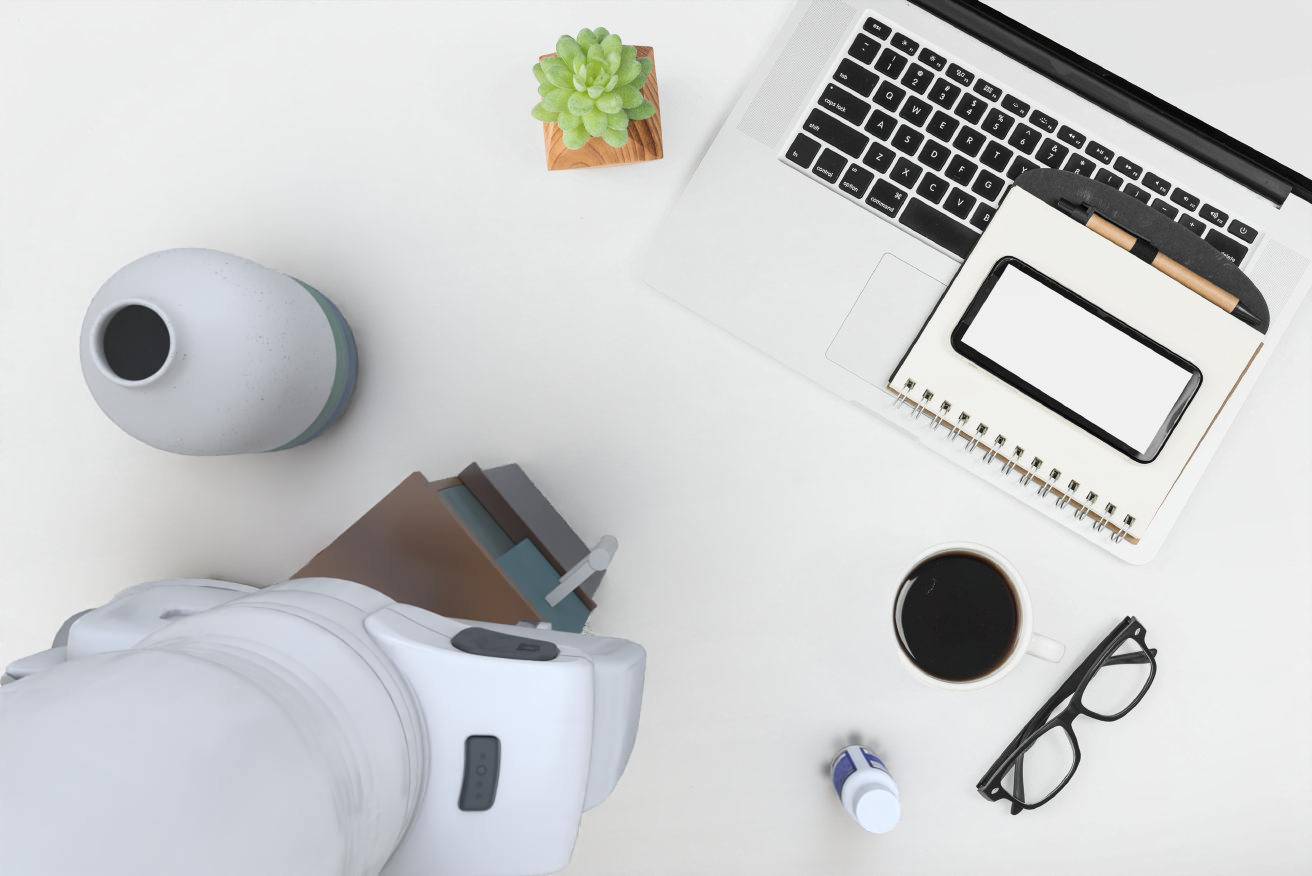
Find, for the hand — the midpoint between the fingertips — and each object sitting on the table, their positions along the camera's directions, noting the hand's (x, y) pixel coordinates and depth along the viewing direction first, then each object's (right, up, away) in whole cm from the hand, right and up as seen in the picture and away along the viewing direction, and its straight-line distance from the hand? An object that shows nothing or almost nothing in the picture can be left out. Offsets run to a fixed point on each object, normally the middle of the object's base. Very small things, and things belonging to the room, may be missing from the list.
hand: (434, 625), depth 39 cm
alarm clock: (-31, -10, +45) cm, 55 cm away
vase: (-26, +16, +45) cm, 54 cm away
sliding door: (+5, 0, +22) cm, 22 cm away
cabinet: (-3, -2, +44) cm, 44 cm away
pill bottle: (+30, -24, +43) cm, 58 cm away
